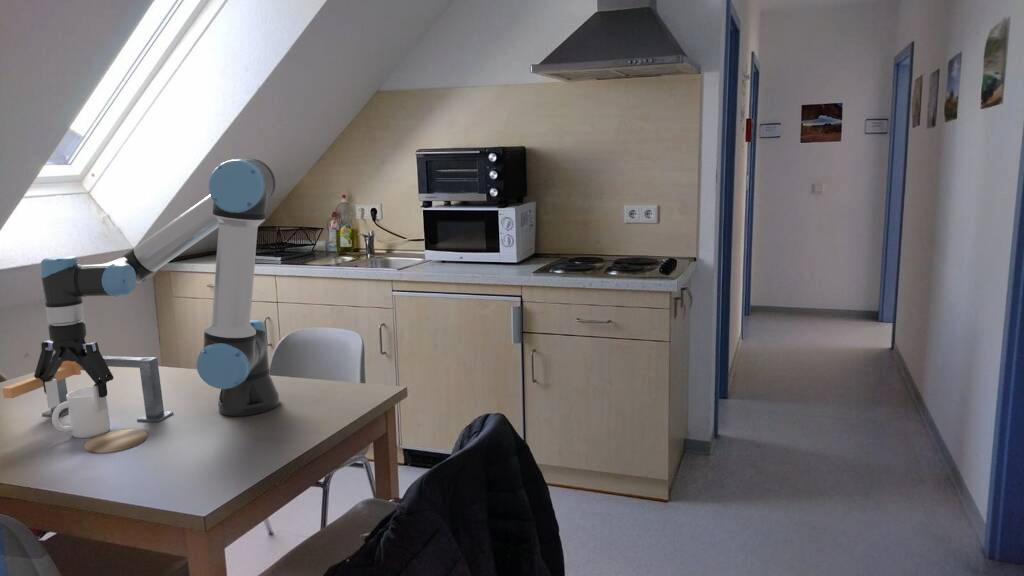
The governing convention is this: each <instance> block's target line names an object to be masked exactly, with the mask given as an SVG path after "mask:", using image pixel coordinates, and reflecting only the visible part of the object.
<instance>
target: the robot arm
mask: <svg viewBox="0 0 1024 576" xmlns="http://www.w3.org/2000/svg"><path fill="white" fill-rule="evenodd" d="M276 185H277V181H276V176H275V173H274V172H273V169H272V168H271V167H270V166H269V165H268V164H266V163H265V162H264V161H261V160H260V159H256V158H232V159H228V160H226V161H224V162H222V163H220V164H219V165H218V166H217V167H215V169H214V170H213V171H212V172H211V175H210V178H209V179H208V192H209V195H207V196H206V197H204V198H203V199H202V200H200V201H199V202H198V203H197V202H196V204H195V205H192V207H190V208H189V209H187V210H186V211H184V212H183V213H182V214H180V215H179V216H178V217H176V218H175V219H173V220H172V221H171V222H169V223H168V224H166V225H165V226H163V227H162V228H161V229H159V230H158V231H156V232H155V233H153V234H152V235H150V236H149V237H148V238H146V239H145V240H143V241H142V242H141V243H138V244H137V245H136V246H134V247H133V248H132V249H131V250H129V251H127V252H126V253H125V254H123V255H122V256H120V257H119V258H116V259H113V260H111V261H106V262H104V263H96V264H79V261H78V259H77V257H76V256H74V255H55V256H50V257H45V258H43V259H42V260H41V261H40V273H41V277H40V279H41V280H42V281H41V282H42V287H43V294H44V300H45V302H44V303H45V311H46V320H47V323H49V324H48V335H49V339H47V340H45V341H42V342H41V343H40V344H41V346H40V347H41V348H40V349H41V351H40V355H39V358H38V361H37V363H36V364H37V365H36V367H35V368H36V369H35V371H34V374H33V375H34V376H33V377H35V378H36V379H37V378H39V379H41V381H43V391H44V394H45V395H46V401H47V408H48V409H51V408H53V407H55V406H58V405H59V404H60V402H59V394H58V387H57V379H52V378H55V377H54V375H55V374H56V372H57V371H58V369H59V367H60V366H61V364H62V363H63V361H72V362H74V361H75V362H76V363H77V364H80V365H81V367H82V368H83V369H84V370H83V371H85V373H86V374H87V376H89V377H90V379H91V380H92V381H93V382H94V384H93V385H92V387H93V391H94V399H95V407H96V412H100V411H102V410H104V409H106V408H107V405H108V401H107V402H106V398H107V396H108V386H107V383H108V382H110V381H113V380H114V375H113V373H112V372H111V370H110V367H108V366H107V364H106V362H105V361H104V359H103V357H102V356H103V355H102V353H101V352H100V348H99V344H98V342H97V341H93V342H90V343H89V342H88V343H86V340H85V338H86V336H87V328H86V322H85V321H84V319H85V314H84V304H83V297H84V298H85V297H120V296H128V295H131V294H132V293H133V292H134V290H135V289H136V286H138V285H140V284H141V283H143V282H145V281H146V280H147V279H148V278H149V276H151V275H152V274H154V273H155V272H156V271H158V270H159V269H161V268H162V267H164V265H167V264H168V263H169V262H170V261H172V260H174V259H175V258H177V257H178V256H179V255H181V254H182V253H183V252H185V251H186V250H188V249H189V248H191V247H192V246H194V245H195V244H197V243H198V242H199V241H200V240H202V239H204V238H205V237H206V236H208V235H209V234H211V233H212V232H214V231H215V230H217V229H218V230H217V231H218V232H217V247H216V260H215V272H214V273H215V274H214V275H215V276H214V285H213V289H214V290H213V302H212V316H211V318H212V319H211V322H210V323H209V324H208V325H207V326H205V328H204V333H203V346H202V349H201V350H200V351H199V354H198V356H197V359H196V370H197V374H198V376H199V377H200V378H201V380H202V381H204V382H205V384H207V385H208V386H211V387H212V388H216V389H219V390H220V393H219V397H218V401H217V405H218V412H219V413H220V414H221V415H225V416H228V417H229V416H231V417H243V416H244V417H245V416H252V415H258V414H262V413H266V412H269V411H271V410H273V409H274V408H277V406H279V404H280V395H279V392H278V390H277V388H276V385H275V384H274V381H273V379H272V377H271V374H270V364H269V363H270V362H269V361H270V360H269V352H268V342H267V330H266V325H265V322H264V321H262V320H259V319H251V315H252V305H253V304H252V302H253V292H254V291H253V290H254V278H255V265H256V264H255V263H256V254H257V253H256V251H257V240H258V228H259V226H260V225H262V223H264V222H265V221H266V213H267V212H266V211H267V203H268V201H270V200H271V198H272V197H273V196H274V193H275V191H276V187H277V186H276ZM53 354H54V355H53ZM52 355H53V357H52ZM82 356H83V357H82ZM51 358H52V361H51ZM50 361H51V362H50Z"/></svg>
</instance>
